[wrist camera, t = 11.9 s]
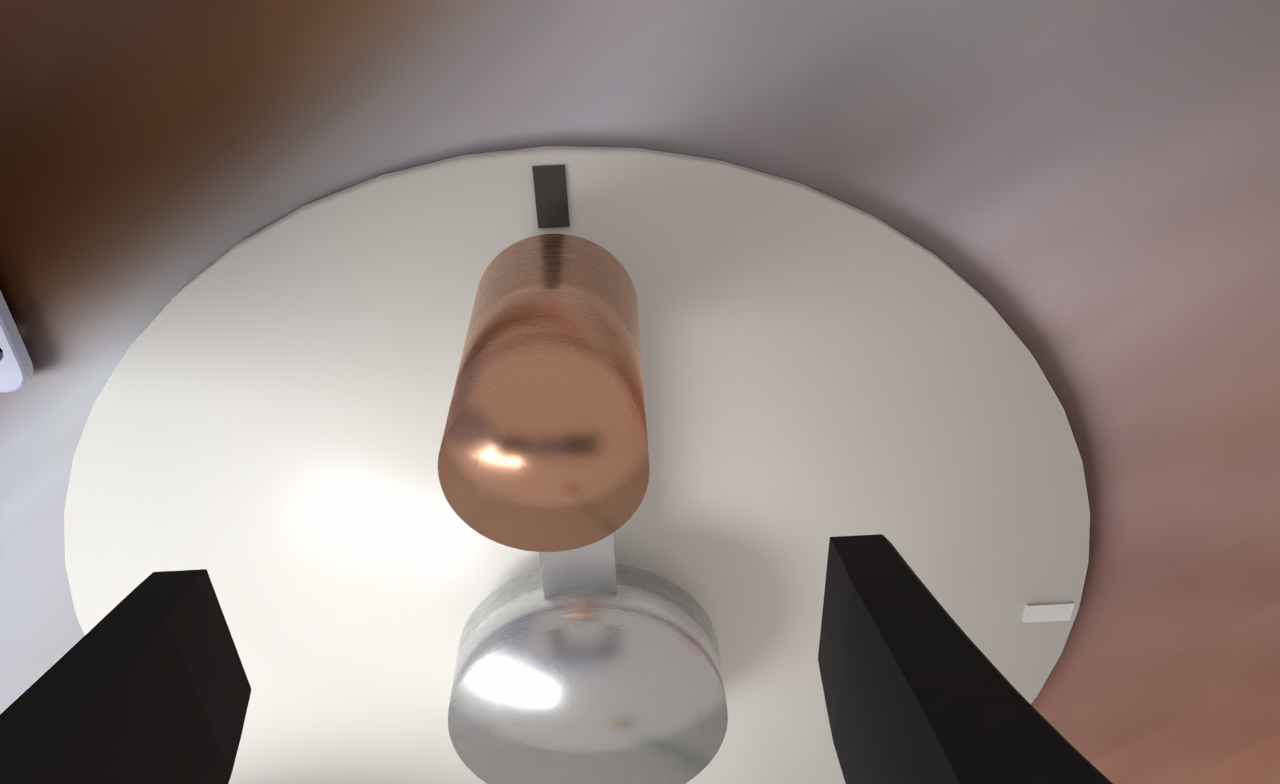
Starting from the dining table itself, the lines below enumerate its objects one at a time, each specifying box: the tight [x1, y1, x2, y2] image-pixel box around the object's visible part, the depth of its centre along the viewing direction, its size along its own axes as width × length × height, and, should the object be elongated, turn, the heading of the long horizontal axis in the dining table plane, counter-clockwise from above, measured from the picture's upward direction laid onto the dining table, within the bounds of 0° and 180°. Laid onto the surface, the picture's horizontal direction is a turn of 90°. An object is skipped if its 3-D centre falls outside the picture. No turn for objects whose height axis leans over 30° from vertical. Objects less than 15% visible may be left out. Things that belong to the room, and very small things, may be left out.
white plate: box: [64, 146, 1090, 784], centre depth 24 cm, size 25×25×1 cm
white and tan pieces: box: [438, 234, 728, 784], centre depth 19 cm, size 15×6×6 cm, turn 2°
